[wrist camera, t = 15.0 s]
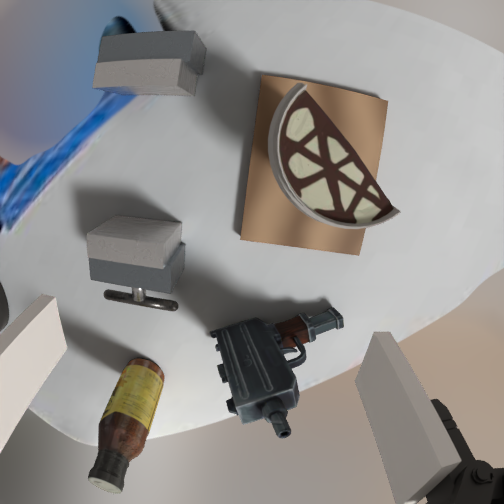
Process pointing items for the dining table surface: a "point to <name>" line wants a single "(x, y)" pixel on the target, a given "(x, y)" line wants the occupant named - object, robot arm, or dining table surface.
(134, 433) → the sauce bottle
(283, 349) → the gun
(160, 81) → the grey blocks
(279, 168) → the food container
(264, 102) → the light brown board
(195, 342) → the dining table surface
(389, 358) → the robot arm
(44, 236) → the dining table surface
